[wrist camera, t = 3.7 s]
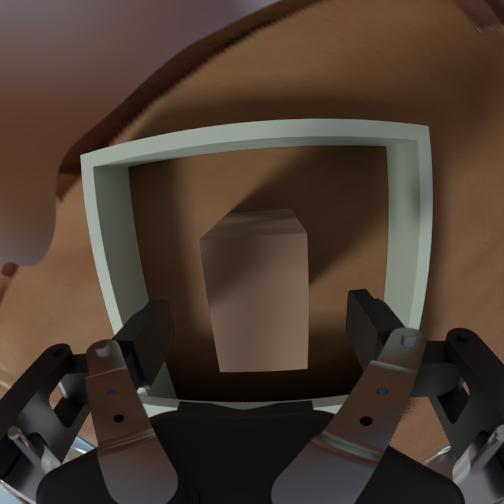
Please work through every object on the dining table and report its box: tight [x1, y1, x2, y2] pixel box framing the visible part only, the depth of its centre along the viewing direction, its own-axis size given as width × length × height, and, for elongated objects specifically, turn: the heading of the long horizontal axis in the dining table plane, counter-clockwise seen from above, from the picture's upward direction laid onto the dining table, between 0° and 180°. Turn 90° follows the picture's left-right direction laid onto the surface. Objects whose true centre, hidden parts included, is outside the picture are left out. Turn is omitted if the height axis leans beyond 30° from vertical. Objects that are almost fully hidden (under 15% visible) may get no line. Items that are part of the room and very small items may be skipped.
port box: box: [81, 119, 433, 418], centre depth 20 cm, size 22×34×6 cm, turn 5°
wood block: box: [199, 208, 309, 372], centre depth 17 cm, size 4×7×9 cm, turn 5°
